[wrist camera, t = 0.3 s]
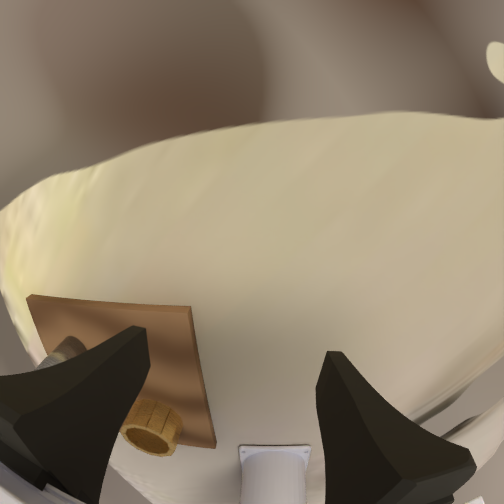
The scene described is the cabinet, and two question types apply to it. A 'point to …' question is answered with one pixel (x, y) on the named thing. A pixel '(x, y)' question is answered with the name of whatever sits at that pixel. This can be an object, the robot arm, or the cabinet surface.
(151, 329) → the walnut board
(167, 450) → the wooden barrel ring
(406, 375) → the cabinet surface
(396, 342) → the cabinet surface
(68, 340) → the steel piston
